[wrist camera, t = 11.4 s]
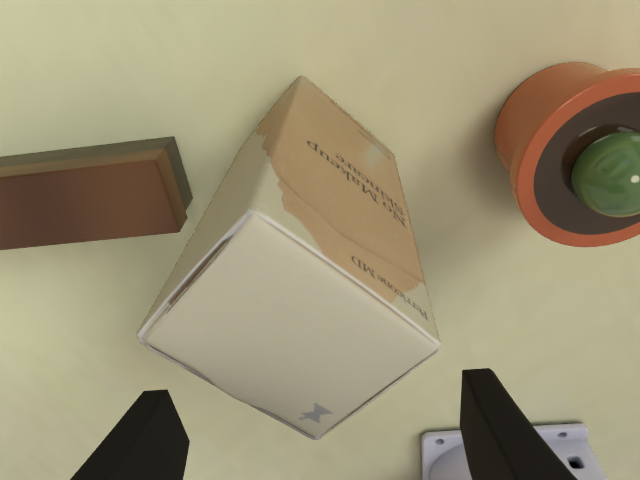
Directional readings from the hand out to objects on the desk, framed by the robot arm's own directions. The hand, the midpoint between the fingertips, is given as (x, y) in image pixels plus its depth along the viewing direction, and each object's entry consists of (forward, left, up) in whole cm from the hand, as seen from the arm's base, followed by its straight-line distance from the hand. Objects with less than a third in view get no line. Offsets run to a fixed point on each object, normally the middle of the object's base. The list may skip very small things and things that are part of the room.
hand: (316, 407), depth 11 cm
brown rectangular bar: (+10, -3, -10) cm, 14 cm away
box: (0, -3, -11) cm, 11 cm away
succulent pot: (-9, -3, -10) cm, 14 cm away
